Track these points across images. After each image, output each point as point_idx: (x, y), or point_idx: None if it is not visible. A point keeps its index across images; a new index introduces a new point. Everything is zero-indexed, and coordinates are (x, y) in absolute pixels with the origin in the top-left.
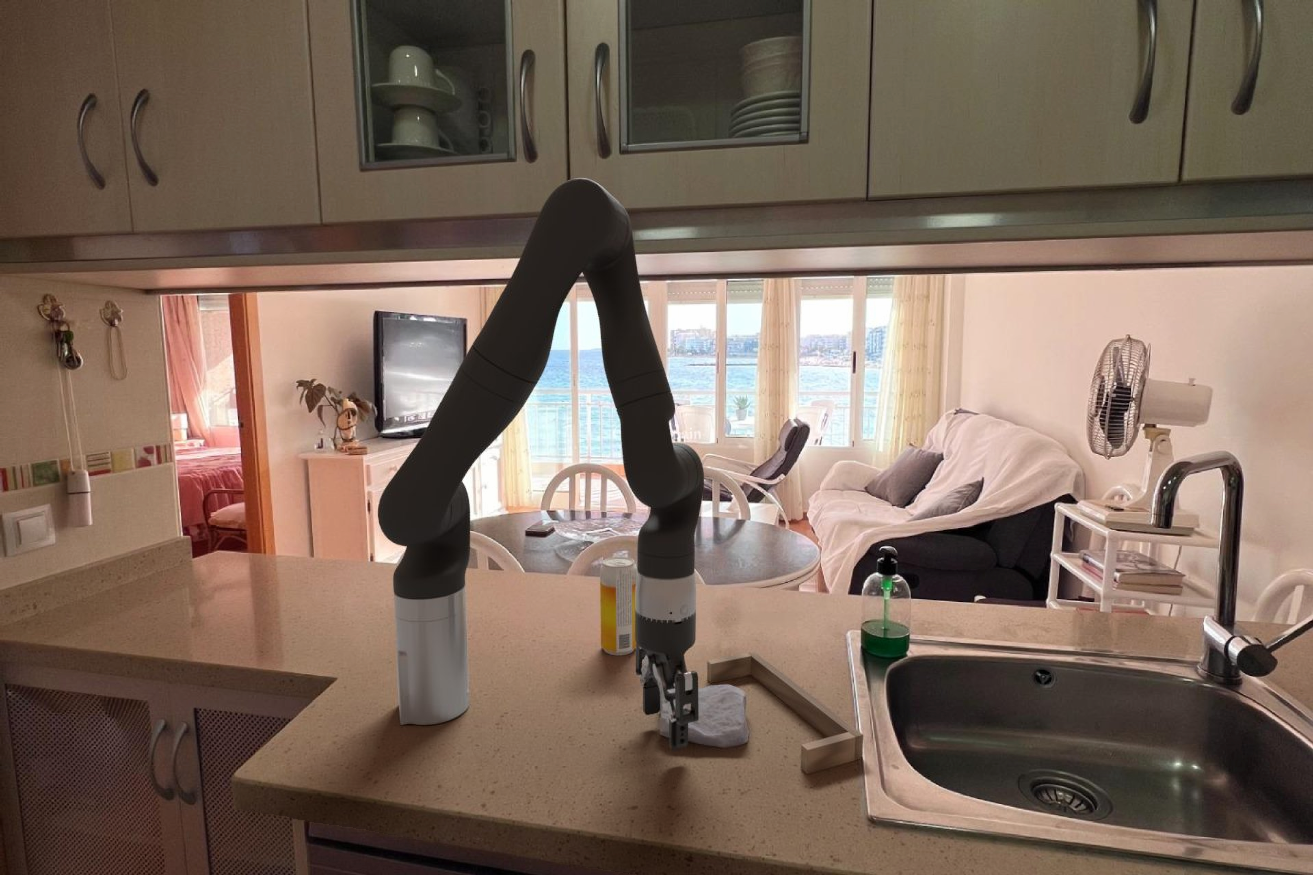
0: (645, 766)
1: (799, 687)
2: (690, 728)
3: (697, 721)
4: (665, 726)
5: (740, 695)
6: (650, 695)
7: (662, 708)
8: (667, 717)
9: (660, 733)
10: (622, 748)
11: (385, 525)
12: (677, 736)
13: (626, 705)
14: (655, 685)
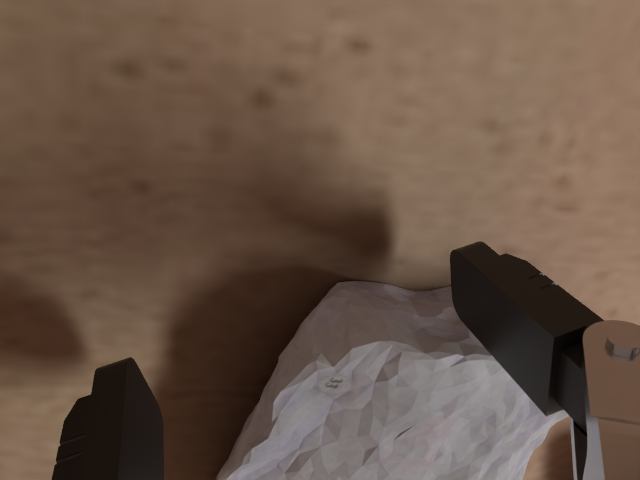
0: (81, 198)
1: None
2: (250, 451)
3: (301, 472)
4: (309, 342)
5: None
6: (515, 333)
7: (422, 356)
8: (351, 369)
9: (342, 283)
10: (267, 88)
11: None
12: (57, 467)
13: (611, 144)
14: (558, 396)
